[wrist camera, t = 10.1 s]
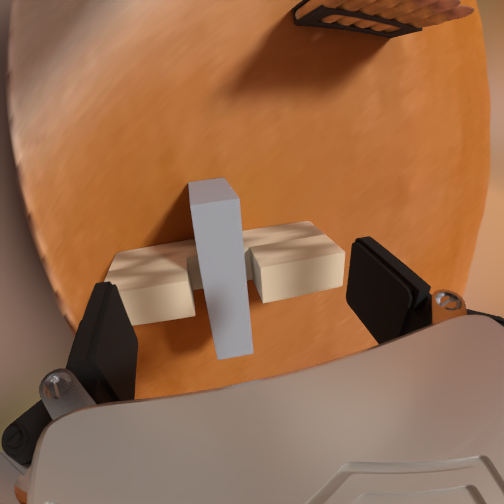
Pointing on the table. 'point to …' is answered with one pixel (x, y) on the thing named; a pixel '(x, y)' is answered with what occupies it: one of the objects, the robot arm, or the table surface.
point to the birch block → (256, 263)
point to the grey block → (222, 264)
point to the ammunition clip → (378, 15)
